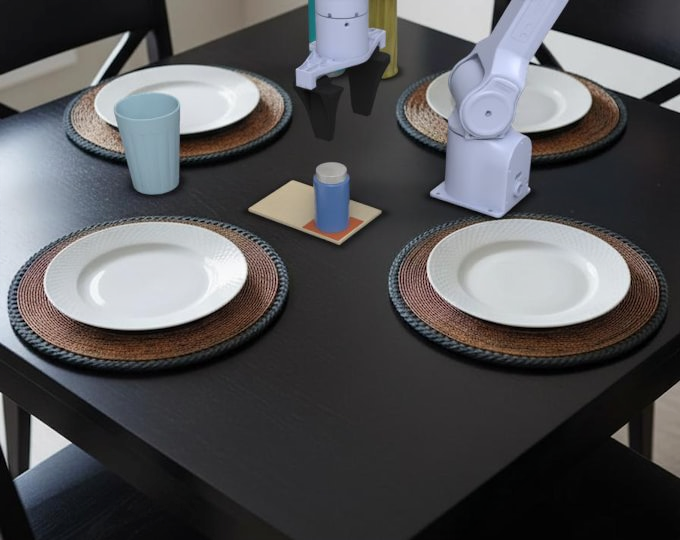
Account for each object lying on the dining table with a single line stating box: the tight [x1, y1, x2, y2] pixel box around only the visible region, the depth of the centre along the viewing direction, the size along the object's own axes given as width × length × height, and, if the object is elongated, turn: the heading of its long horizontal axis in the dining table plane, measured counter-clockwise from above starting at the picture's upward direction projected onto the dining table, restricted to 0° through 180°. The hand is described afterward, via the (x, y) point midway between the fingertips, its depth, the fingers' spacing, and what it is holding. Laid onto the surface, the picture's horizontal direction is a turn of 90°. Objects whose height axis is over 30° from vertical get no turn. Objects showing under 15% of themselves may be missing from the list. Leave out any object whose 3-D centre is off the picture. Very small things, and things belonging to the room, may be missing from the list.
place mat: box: [248, 179, 382, 246], centre depth 121 cm, size 13×8×1 cm, turn 54°
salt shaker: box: [312, 161, 351, 233], centre depth 116 cm, size 4×4×7 cm
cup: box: [113, 91, 181, 196], centre depth 125 cm, size 8×8×10 cm
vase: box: [369, 0, 399, 80], centre depth 152 cm, size 6×6×14 cm
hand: (343, 125), depth 119 cm, fingers open, 7 cm apart
